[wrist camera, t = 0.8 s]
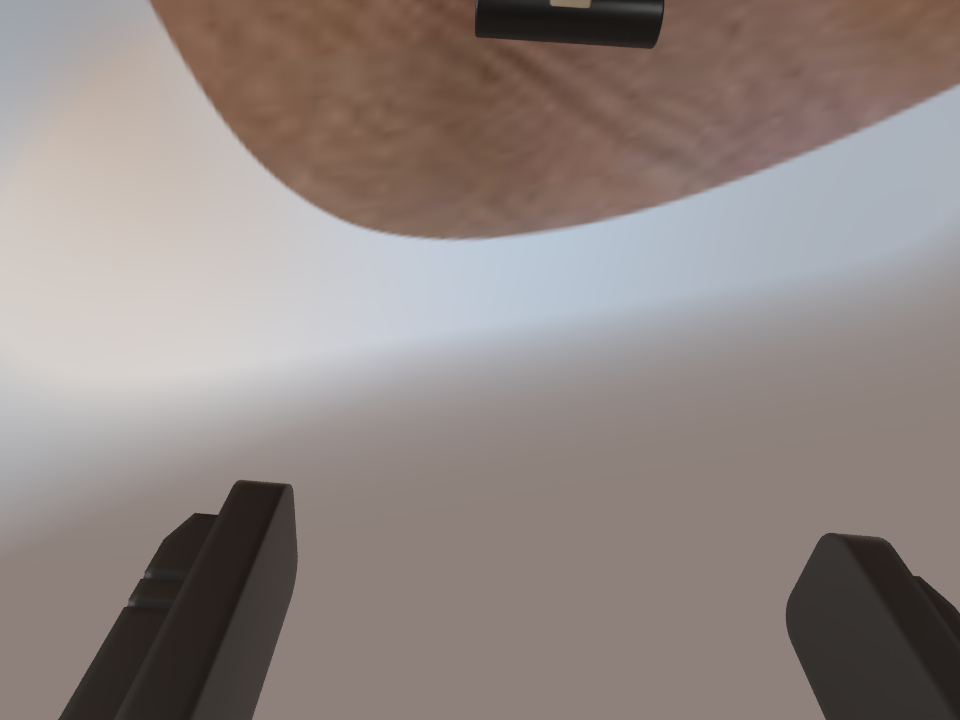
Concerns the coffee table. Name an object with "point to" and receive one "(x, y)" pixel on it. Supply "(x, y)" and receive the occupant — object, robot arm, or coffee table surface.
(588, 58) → the coffee table surface
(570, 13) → the lever
